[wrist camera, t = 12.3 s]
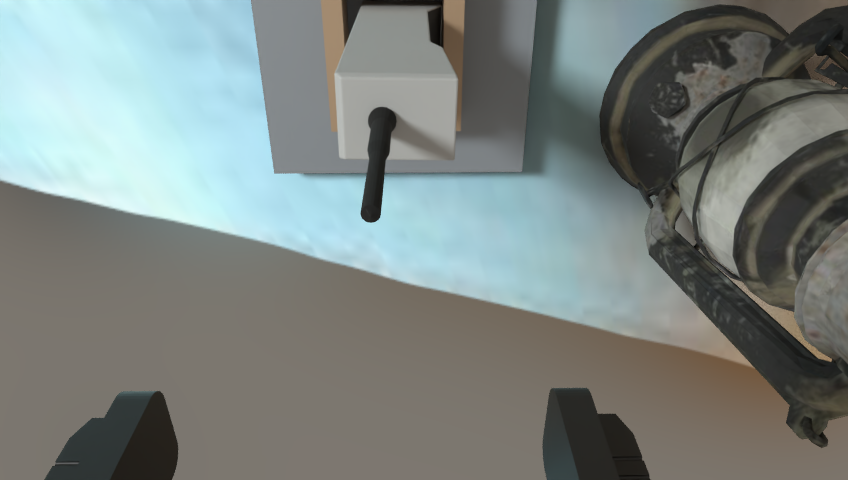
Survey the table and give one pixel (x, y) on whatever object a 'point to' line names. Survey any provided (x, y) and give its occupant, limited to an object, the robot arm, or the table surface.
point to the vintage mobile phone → (395, 92)
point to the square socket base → (461, 41)
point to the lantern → (747, 185)
